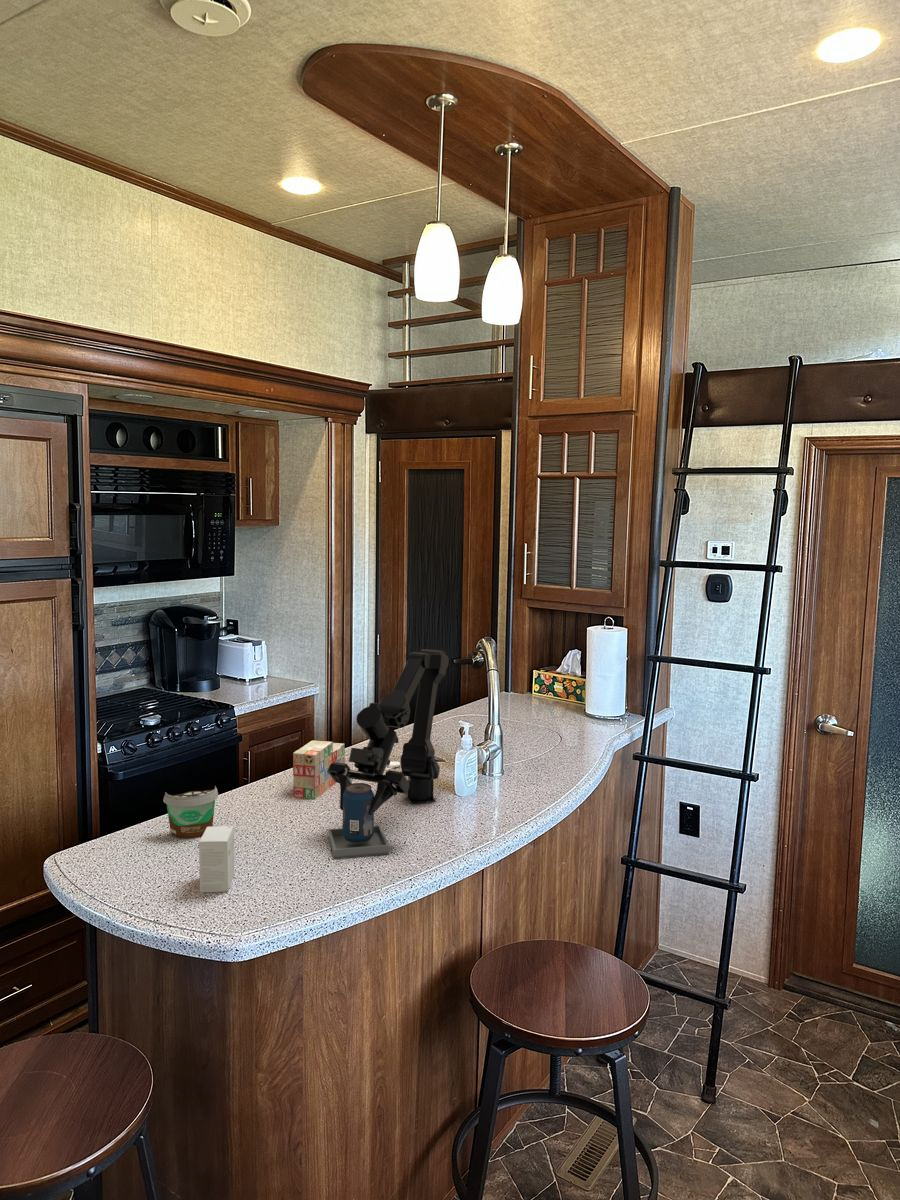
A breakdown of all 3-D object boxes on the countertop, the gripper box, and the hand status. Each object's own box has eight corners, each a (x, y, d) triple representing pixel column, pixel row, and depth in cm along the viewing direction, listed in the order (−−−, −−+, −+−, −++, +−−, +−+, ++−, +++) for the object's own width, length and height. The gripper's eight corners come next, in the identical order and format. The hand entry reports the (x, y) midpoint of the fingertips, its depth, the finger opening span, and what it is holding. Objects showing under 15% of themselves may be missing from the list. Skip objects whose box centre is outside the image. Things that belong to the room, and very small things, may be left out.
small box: (207, 875, 171) (206, 825, 170) (235, 874, 171) (234, 825, 170) (199, 893, 163) (198, 841, 162) (228, 892, 163) (227, 840, 162)
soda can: (347, 831, 191) (347, 780, 189) (376, 834, 190) (377, 783, 188) (338, 843, 184) (339, 791, 183) (369, 846, 183) (369, 793, 181)
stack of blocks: (325, 773, 238) (324, 731, 237) (345, 775, 237) (345, 733, 235) (292, 798, 217) (292, 752, 216) (315, 800, 216) (315, 754, 215)
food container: (168, 844, 186) (167, 801, 185) (163, 834, 192) (162, 792, 190) (224, 835, 192) (223, 793, 191) (218, 826, 197) (217, 785, 196)
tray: (380, 833, 194) (380, 825, 194) (389, 854, 182) (389, 845, 182) (328, 837, 191) (328, 829, 191) (334, 858, 180) (334, 850, 179)
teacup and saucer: (404, 768, 244) (404, 755, 244) (380, 773, 240) (380, 759, 240) (389, 761, 252) (389, 748, 251) (366, 765, 247) (366, 751, 247)
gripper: (331, 727, 191) (305, 789, 183) (404, 737, 184) (380, 801, 175) (348, 751, 199) (324, 811, 191) (419, 761, 192) (397, 824, 183)
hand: (355, 811), depth 185 cm, fingers closed on soda can, 7 cm apart
